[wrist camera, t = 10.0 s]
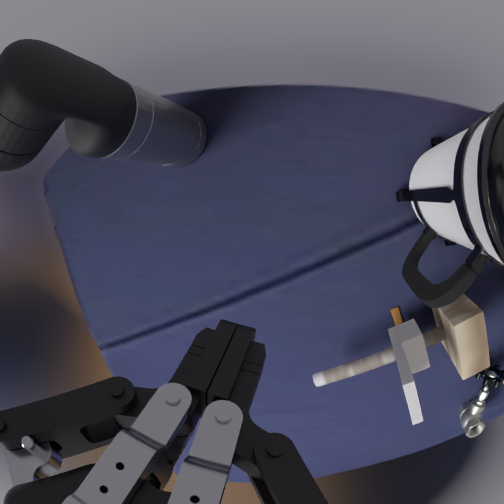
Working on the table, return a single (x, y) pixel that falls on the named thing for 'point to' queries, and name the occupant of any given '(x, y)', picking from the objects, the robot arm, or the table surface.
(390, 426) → the table surface
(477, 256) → the coffee press
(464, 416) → the valve
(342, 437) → the table surface
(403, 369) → the white upright panel
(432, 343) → the rod stand
